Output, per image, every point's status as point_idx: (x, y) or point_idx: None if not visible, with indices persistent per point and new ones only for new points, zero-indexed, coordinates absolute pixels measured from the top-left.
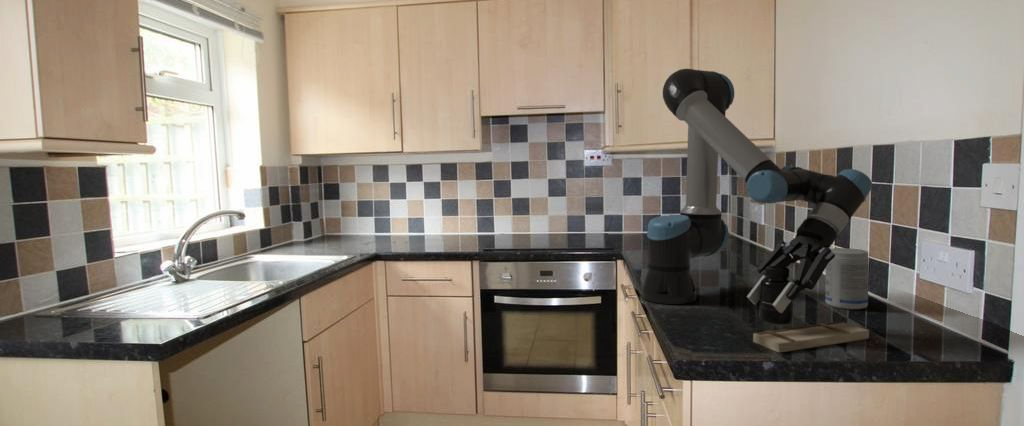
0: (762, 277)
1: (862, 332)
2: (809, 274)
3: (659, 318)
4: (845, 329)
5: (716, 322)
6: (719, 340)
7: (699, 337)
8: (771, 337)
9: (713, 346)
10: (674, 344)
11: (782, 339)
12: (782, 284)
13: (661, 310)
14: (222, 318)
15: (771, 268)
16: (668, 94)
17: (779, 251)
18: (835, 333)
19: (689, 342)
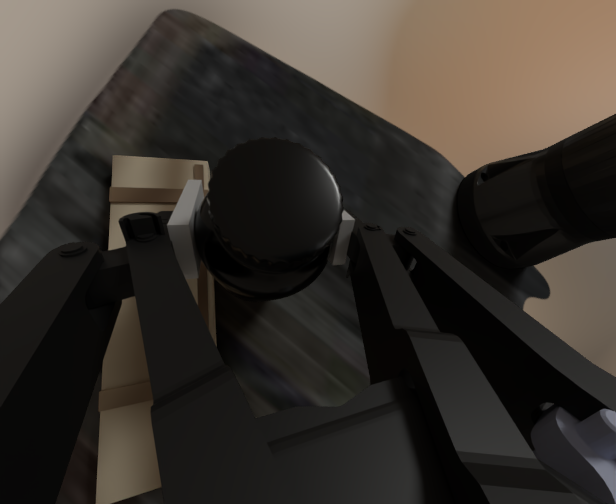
0: (344, 215)
1: (98, 469)
2: (40, 285)
3: (384, 122)
4: (139, 424)
5: (344, 195)
6: (241, 123)
7: (268, 106)
8: (164, 174)
9: (213, 90)
10: (246, 47)
11: (139, 186)
12: (206, 202)
13: (426, 156)
14: None
15: (283, 160)
16: None
17: (519, 361)
18: (118, 360)
19: (248, 73)
